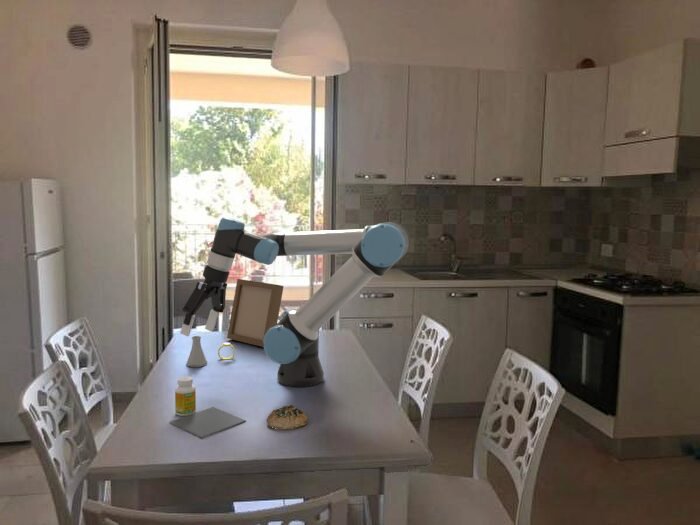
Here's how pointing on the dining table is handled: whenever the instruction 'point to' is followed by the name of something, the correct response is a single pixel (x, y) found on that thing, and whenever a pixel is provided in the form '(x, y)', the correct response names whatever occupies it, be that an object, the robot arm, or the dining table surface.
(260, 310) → the photo frame
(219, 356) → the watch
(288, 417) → the bread roll
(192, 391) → the supplement bottle
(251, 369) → the dining table surface
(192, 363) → the flask
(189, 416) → the mat
